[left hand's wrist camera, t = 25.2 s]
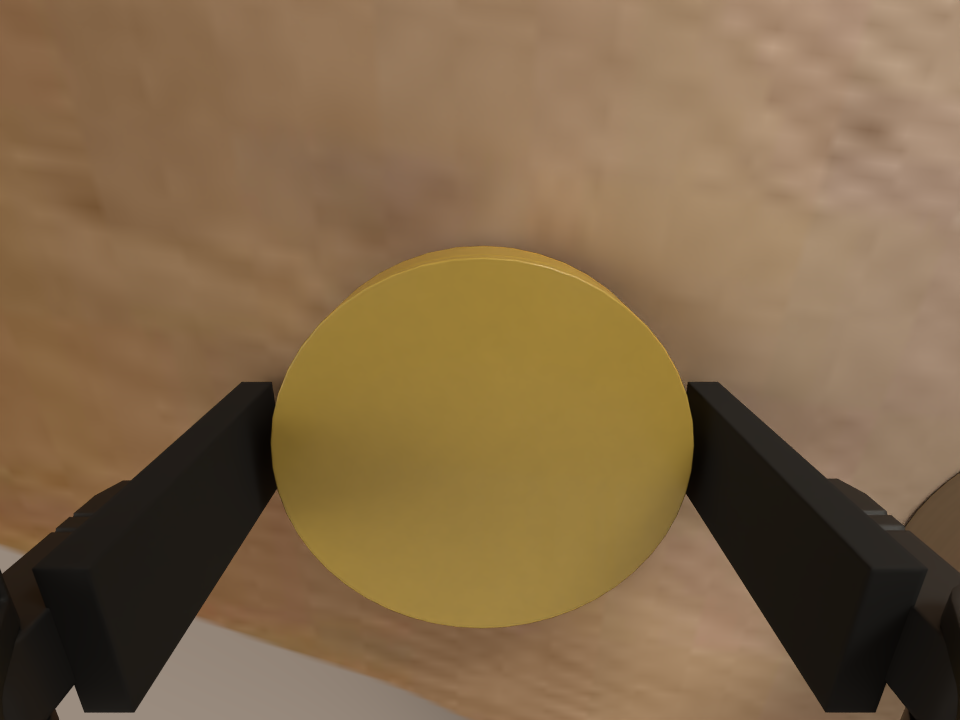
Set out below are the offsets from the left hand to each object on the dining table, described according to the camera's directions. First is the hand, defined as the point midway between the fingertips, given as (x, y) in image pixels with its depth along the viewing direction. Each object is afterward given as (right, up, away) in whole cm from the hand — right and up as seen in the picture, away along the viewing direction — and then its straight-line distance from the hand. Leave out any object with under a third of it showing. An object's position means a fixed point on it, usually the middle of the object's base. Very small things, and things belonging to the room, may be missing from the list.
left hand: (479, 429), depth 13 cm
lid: (0, -1, -1) cm, 2 cm away
